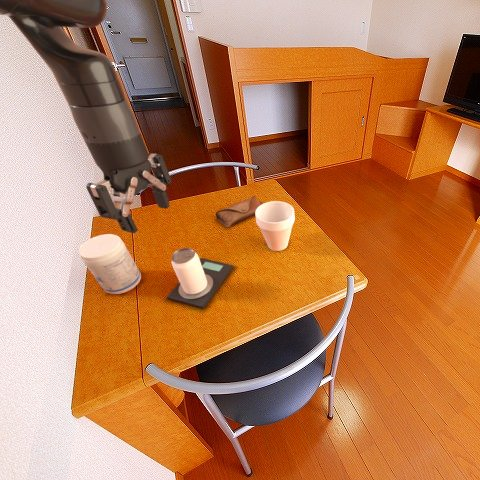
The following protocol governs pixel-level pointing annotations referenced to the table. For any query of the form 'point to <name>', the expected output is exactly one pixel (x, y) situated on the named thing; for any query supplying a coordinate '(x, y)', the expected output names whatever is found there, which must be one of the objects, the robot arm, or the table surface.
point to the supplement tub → (110, 263)
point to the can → (189, 271)
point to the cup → (275, 223)
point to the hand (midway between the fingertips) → (149, 218)
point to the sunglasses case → (238, 212)
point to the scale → (214, 277)
